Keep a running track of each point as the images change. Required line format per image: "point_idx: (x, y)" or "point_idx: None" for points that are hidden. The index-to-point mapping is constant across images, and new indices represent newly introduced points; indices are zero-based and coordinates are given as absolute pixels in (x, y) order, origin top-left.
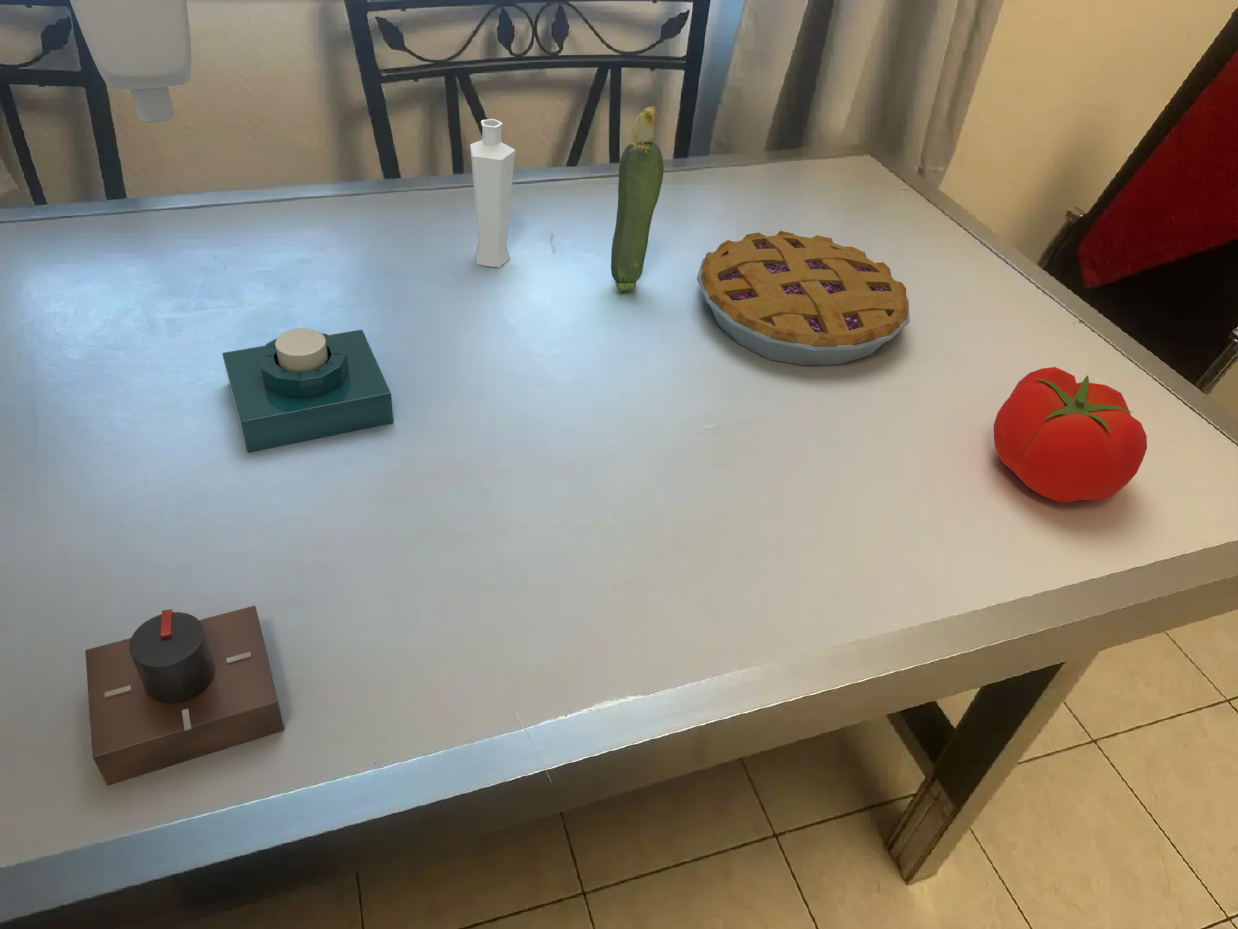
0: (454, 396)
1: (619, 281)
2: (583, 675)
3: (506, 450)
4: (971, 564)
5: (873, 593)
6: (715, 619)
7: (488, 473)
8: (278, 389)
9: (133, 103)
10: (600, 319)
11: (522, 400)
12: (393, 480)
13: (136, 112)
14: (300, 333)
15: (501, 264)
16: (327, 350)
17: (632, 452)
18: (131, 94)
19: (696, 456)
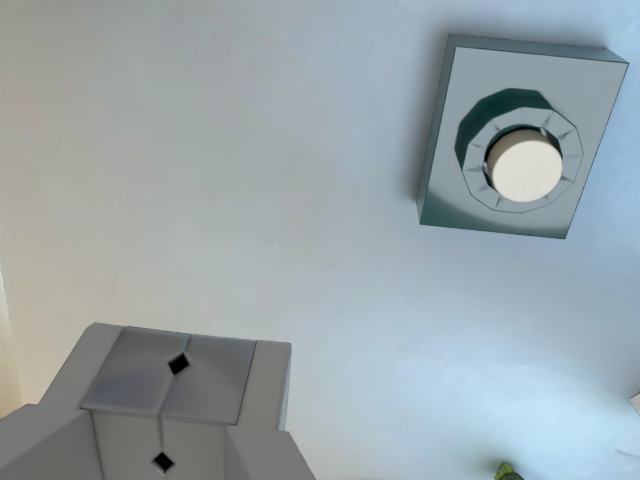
0: (427, 271)
1: (504, 475)
2: (25, 218)
3: (318, 279)
4: None
5: None
6: (60, 324)
7: (292, 252)
8: (487, 111)
9: (70, 358)
10: (473, 431)
11: (386, 322)
12: (322, 169)
13: (83, 336)
14: (545, 178)
15: (632, 403)
16: None
17: None
18: (54, 385)
19: None
